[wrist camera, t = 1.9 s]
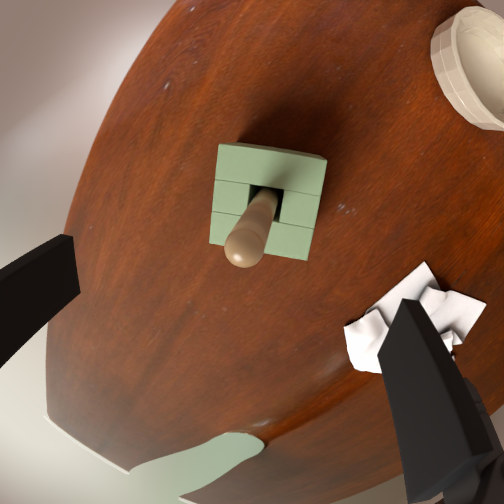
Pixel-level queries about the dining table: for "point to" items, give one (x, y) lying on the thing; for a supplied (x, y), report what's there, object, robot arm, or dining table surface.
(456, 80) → the bowl
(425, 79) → the dining table surface
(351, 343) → the cloth
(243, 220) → the stick
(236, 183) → the stand
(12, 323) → the robot arm
